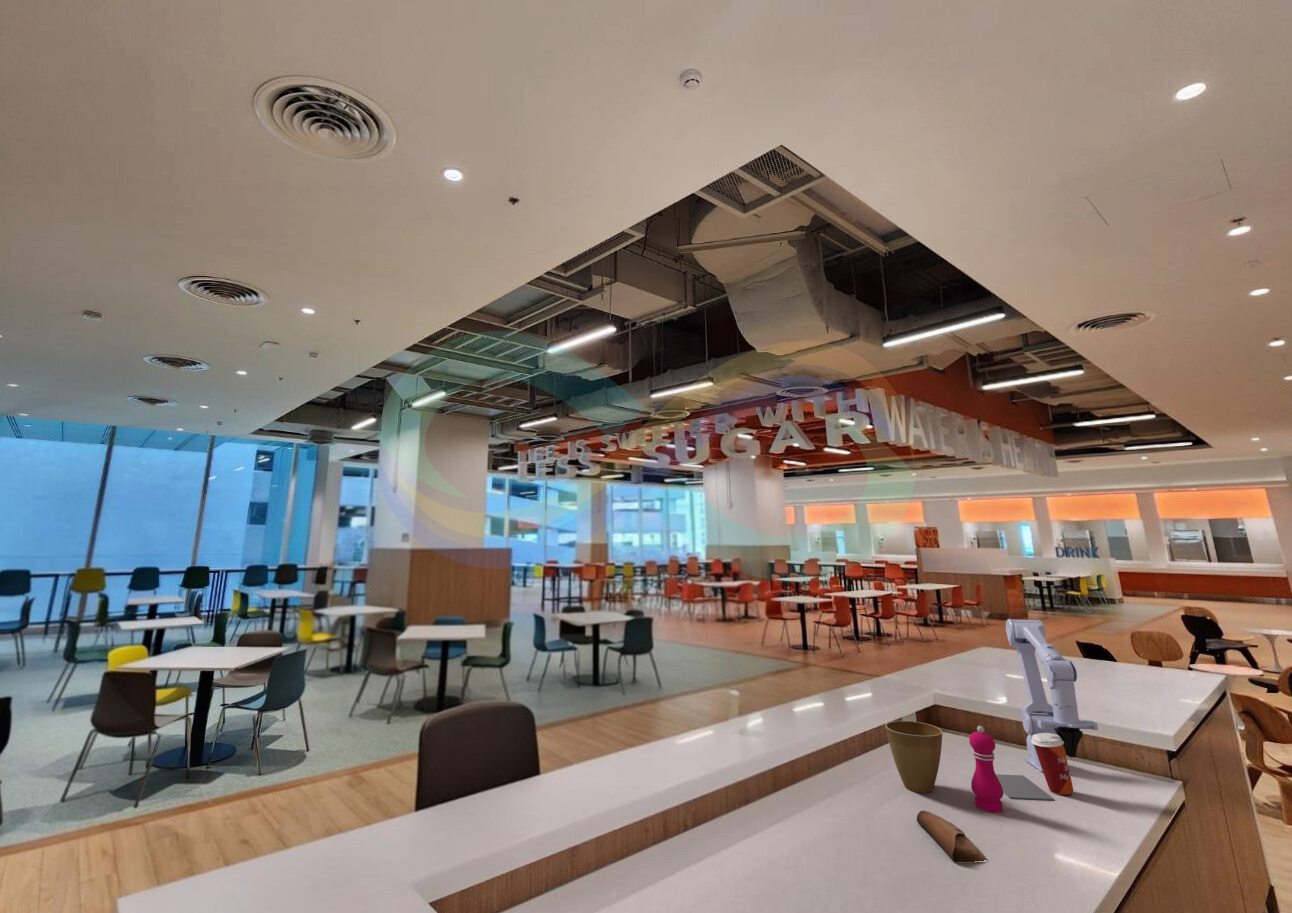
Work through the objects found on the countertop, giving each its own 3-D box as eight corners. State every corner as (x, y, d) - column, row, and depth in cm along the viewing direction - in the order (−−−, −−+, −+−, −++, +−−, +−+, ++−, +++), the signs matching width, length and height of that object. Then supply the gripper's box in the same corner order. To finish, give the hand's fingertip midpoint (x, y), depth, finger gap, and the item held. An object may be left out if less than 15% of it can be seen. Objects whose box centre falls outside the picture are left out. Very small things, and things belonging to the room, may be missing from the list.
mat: (983, 775, 166) (983, 773, 166) (1023, 776, 164) (1023, 775, 164) (1010, 798, 150) (1010, 797, 150) (1054, 800, 149) (1054, 799, 149)
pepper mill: (1010, 814, 141) (1000, 731, 145) (979, 812, 143) (970, 729, 146) (998, 802, 148) (989, 722, 152) (969, 800, 150) (961, 721, 153)
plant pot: (958, 798, 151) (952, 735, 153) (903, 798, 151) (898, 736, 154) (932, 776, 165) (926, 719, 168) (881, 776, 166) (877, 719, 168)
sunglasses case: (993, 863, 120) (974, 834, 121) (966, 881, 119) (948, 852, 120) (950, 823, 137) (934, 797, 139) (927, 838, 137) (911, 813, 138)
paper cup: (1078, 797, 149) (1062, 742, 151) (1044, 795, 153) (1029, 741, 156) (1078, 785, 155) (1062, 732, 158) (1045, 783, 159) (1030, 731, 162)
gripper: (1044, 707, 154) (1051, 760, 152) (1101, 709, 152) (1109, 762, 150) (1030, 701, 161) (1037, 751, 159) (1085, 702, 159) (1092, 753, 157)
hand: (1071, 756), depth 155 cm, fingers closed
